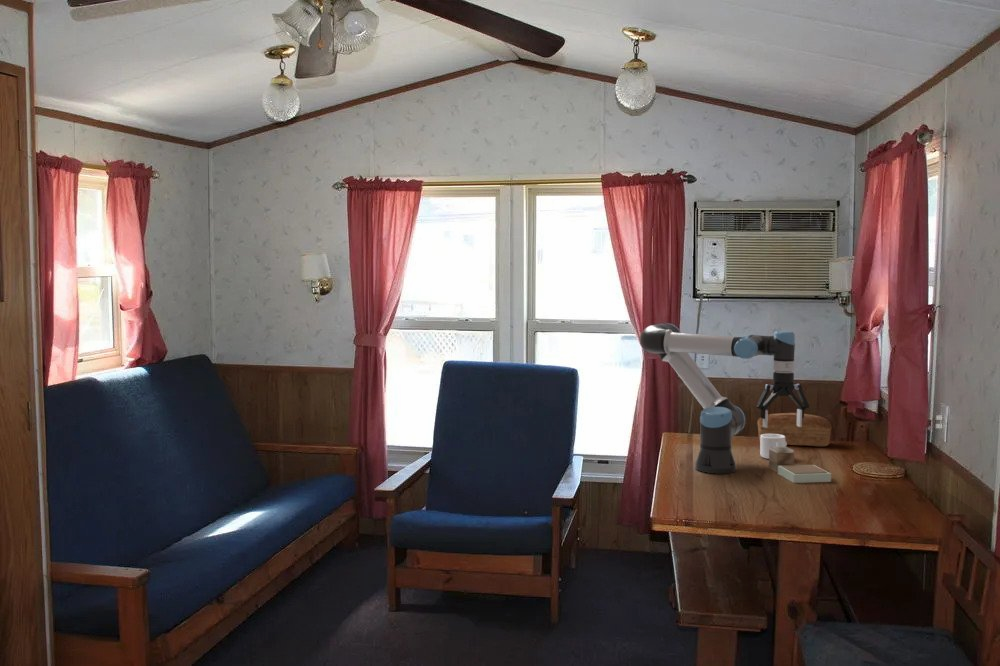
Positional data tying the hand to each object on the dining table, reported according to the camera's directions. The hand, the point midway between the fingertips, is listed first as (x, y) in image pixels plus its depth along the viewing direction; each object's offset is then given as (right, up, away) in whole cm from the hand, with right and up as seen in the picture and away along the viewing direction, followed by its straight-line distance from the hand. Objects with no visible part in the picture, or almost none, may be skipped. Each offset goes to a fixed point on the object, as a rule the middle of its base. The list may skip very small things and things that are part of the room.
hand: (782, 426), depth 326 cm
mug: (+3, -15, +20) cm, 26 cm away
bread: (+21, -13, +49) cm, 55 cm away
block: (0, -17, +1) cm, 17 cm away
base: (+4, -18, -12) cm, 21 cm away
